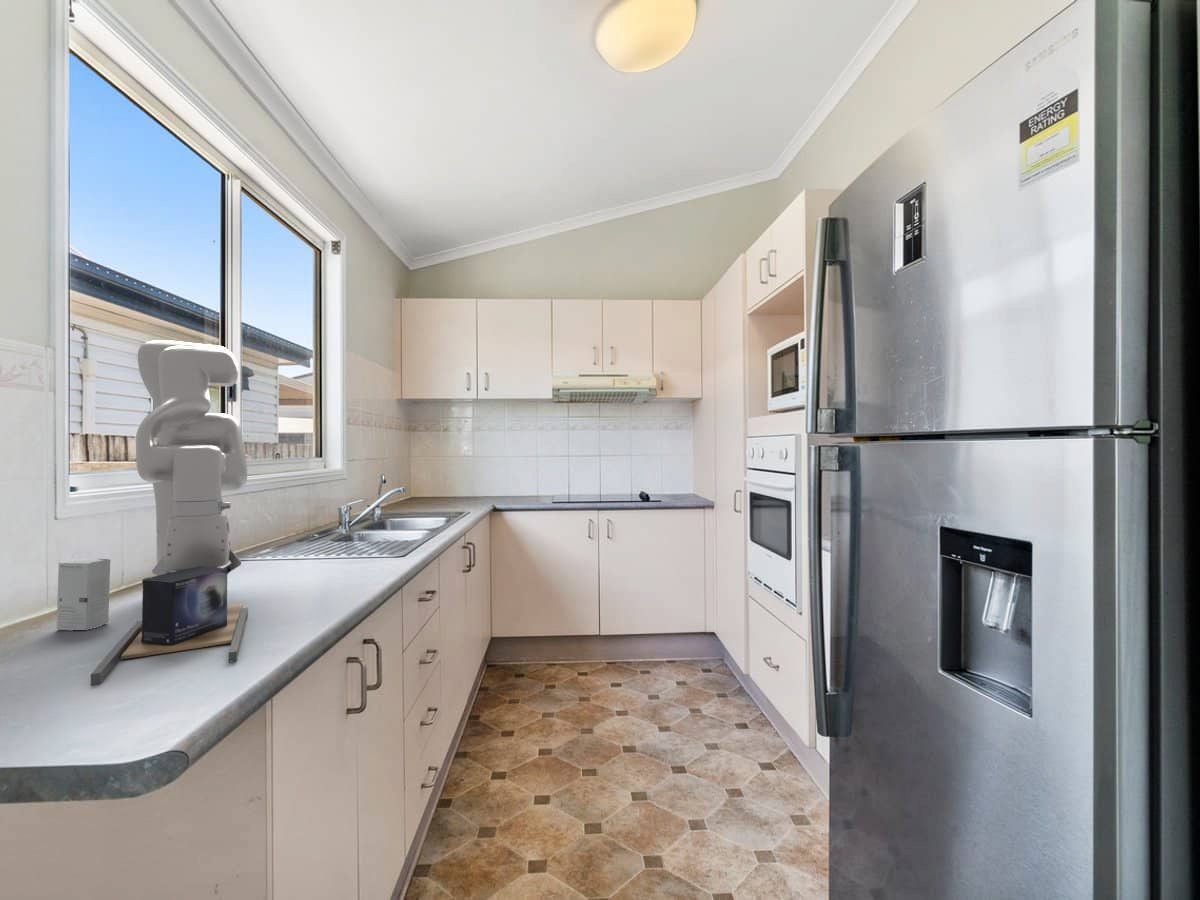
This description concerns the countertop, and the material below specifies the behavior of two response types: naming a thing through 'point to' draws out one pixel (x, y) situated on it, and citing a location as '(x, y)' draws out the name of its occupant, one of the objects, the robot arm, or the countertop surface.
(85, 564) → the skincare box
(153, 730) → the countertop surface
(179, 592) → the small box
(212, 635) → the thin plywood board
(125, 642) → the guide rails
